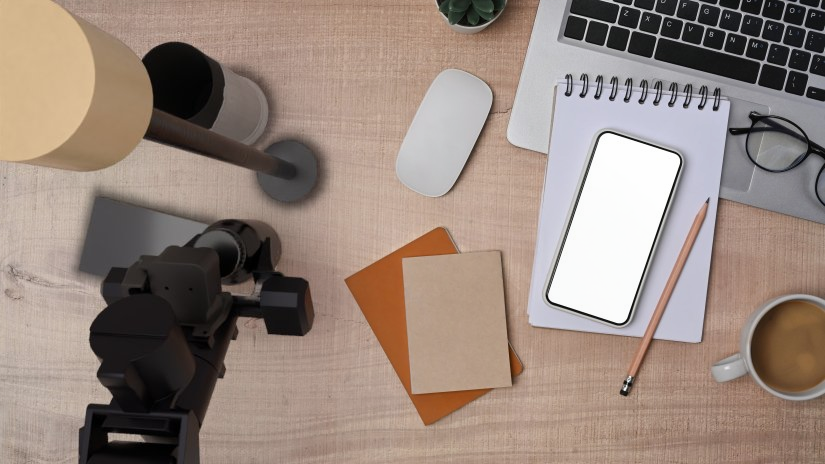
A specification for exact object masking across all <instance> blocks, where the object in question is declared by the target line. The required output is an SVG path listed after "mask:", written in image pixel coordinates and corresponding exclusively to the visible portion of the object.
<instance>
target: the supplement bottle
mask: <svg viewBox="0 0 825 464" xmlns="http://www.w3.org/2000/svg"><path fill="white" fill-rule="evenodd" d="M266 237H270V238H271V243H272V250H273V259H274V267H275V269H276V268H277V266H278V265H279V262H280V261H281V258H282V254H283V253H282V252H283V247H282V241H281V238H280V236H279V234H278V232H277V231H276V230H275V229H274V228H273V227H272V226H271V225H270V224H269V223H267V222H265V221H262V220H259V219H255V218H254V219H253V218H252V219H251V218H223V219H219V220H216V221H214V222H212V223H211V224H210V225H209V226H208V227H207V228H206V229H205V230H204V231H203V232H202V233H201V235H200V236H198V238H197V240H195V243H194V244H193V247H195V248H199V247H209V248H212V249H213V250H215V251H216V252H217V254H218V256H219V261H220V263H219V269H220V277H221V285H222V287H223V286H224V287H236V286H240V285H243V284H246V283H251V282H254V279H253V275H252V271H253V270H256V269H257V266H258V262H259V258H260V253H261V249H262V245H263V243H264V241H265V239H266Z"/></svg>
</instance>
